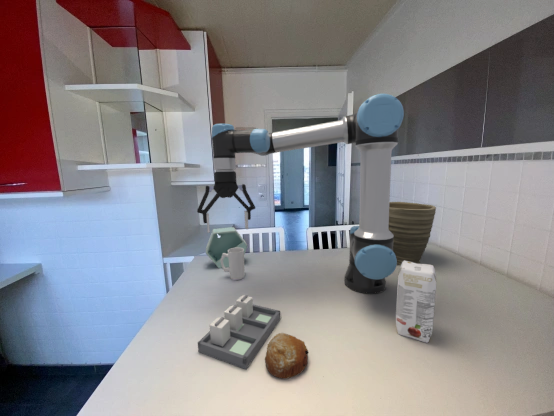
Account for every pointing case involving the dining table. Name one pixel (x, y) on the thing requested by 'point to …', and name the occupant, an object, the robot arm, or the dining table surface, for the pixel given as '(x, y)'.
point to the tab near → (220, 331)
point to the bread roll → (286, 356)
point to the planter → (223, 244)
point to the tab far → (245, 305)
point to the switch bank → (243, 338)
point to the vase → (410, 229)
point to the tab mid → (234, 317)
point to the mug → (235, 263)
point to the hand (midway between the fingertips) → (228, 230)
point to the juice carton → (416, 300)
